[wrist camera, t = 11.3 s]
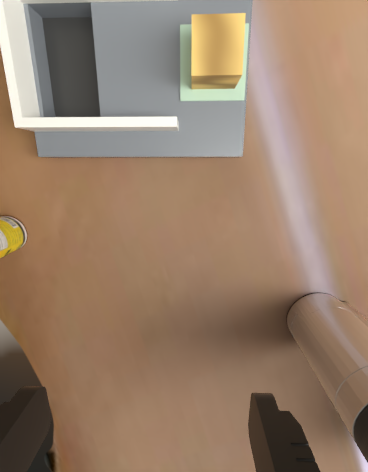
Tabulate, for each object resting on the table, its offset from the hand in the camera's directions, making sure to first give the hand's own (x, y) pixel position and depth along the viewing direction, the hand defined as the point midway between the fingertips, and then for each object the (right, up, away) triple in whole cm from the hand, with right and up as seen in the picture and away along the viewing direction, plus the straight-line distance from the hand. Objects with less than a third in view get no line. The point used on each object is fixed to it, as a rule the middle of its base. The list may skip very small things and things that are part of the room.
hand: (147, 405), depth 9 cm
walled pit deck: (-4, +27, +22) cm, 35 cm away
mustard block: (+5, +26, +18) cm, 32 cm away
